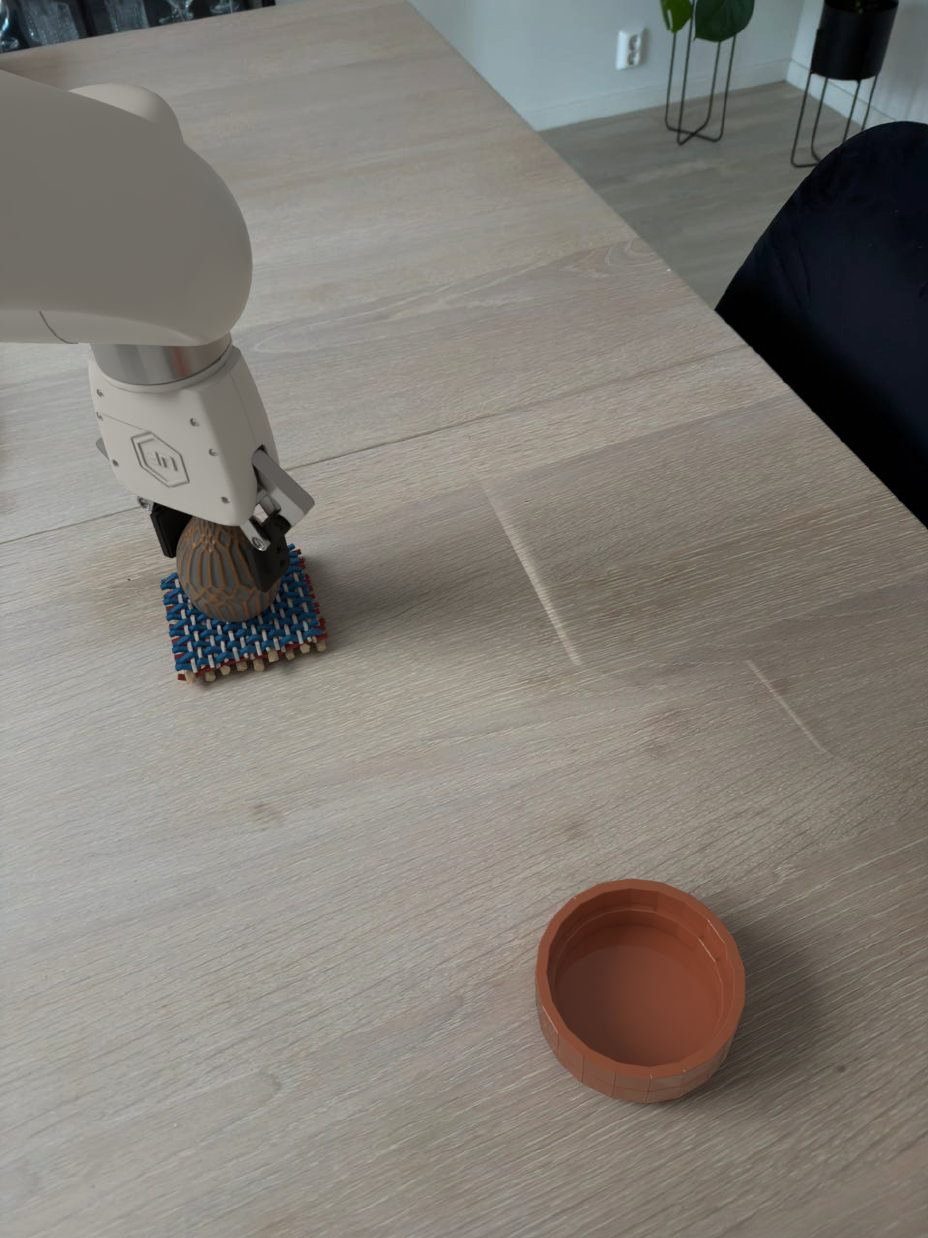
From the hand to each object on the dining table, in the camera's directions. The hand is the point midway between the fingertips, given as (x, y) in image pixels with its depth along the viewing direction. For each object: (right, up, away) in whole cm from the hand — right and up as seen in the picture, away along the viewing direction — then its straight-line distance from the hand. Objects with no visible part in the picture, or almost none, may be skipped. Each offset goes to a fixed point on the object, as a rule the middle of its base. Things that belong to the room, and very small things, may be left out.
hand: (227, 559), depth 73 cm
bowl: (+25, -24, -15) cm, 38 cm away
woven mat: (0, -4, +5) cm, 6 cm away
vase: (0, -3, +3) cm, 4 cm away
